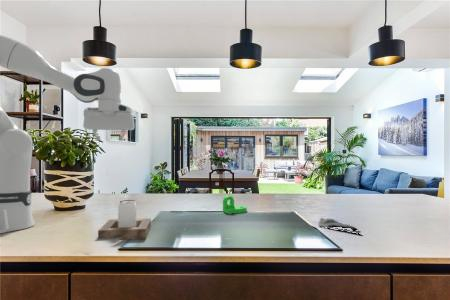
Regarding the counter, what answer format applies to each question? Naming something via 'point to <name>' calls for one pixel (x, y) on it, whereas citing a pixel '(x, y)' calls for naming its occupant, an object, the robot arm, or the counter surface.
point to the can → (127, 214)
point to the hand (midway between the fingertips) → (109, 140)
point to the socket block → (125, 230)
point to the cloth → (335, 224)
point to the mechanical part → (232, 206)
